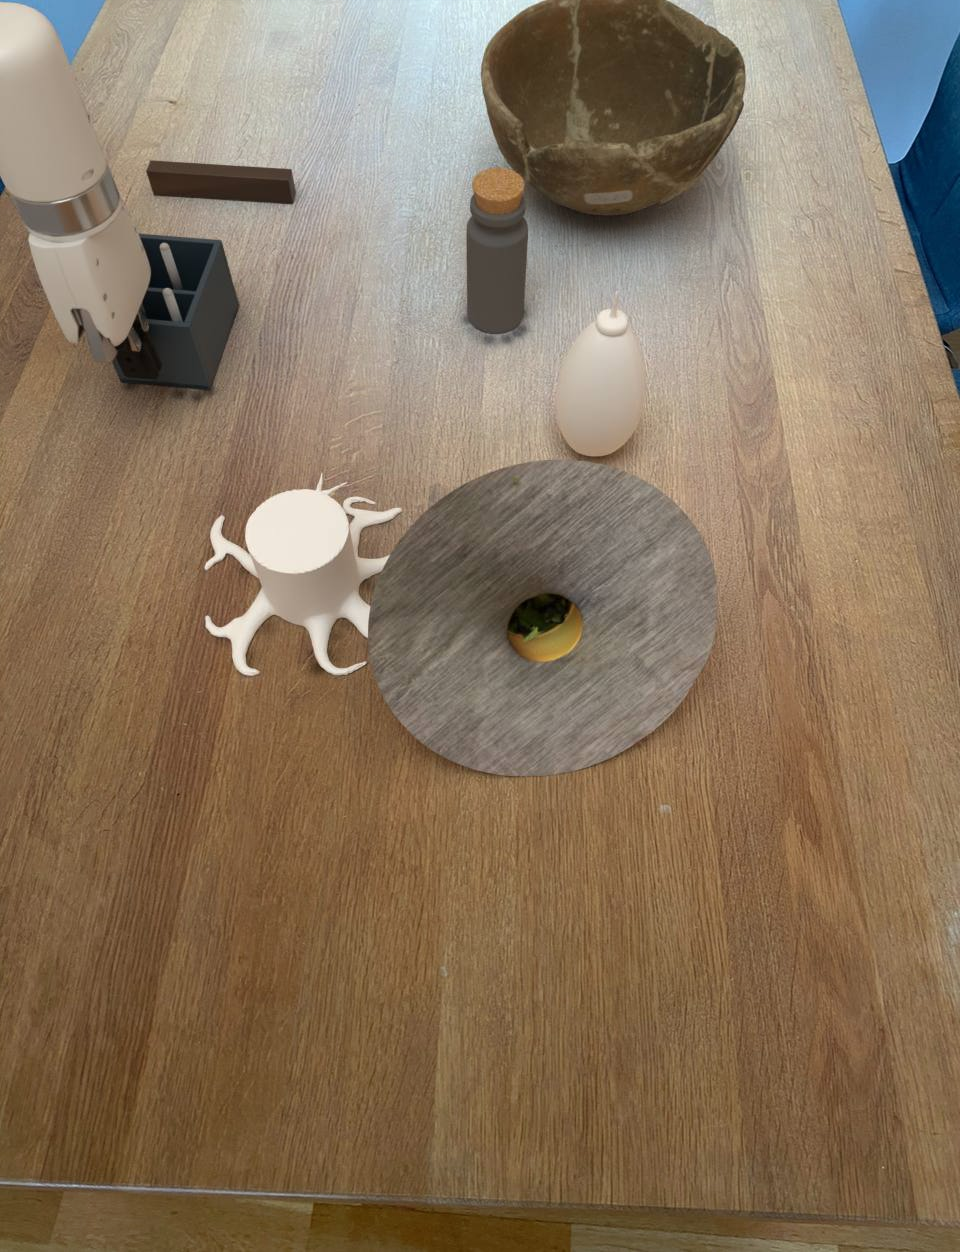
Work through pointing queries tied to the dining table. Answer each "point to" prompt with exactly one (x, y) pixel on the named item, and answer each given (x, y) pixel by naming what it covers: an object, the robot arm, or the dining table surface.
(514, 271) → the bottle
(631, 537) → the grey flared vase
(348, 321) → the dining table surface
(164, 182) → the rail
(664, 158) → the bowl
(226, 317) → the cutlery holder
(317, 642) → the tree stump
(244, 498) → the dining table surface
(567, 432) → the sauce bottle
